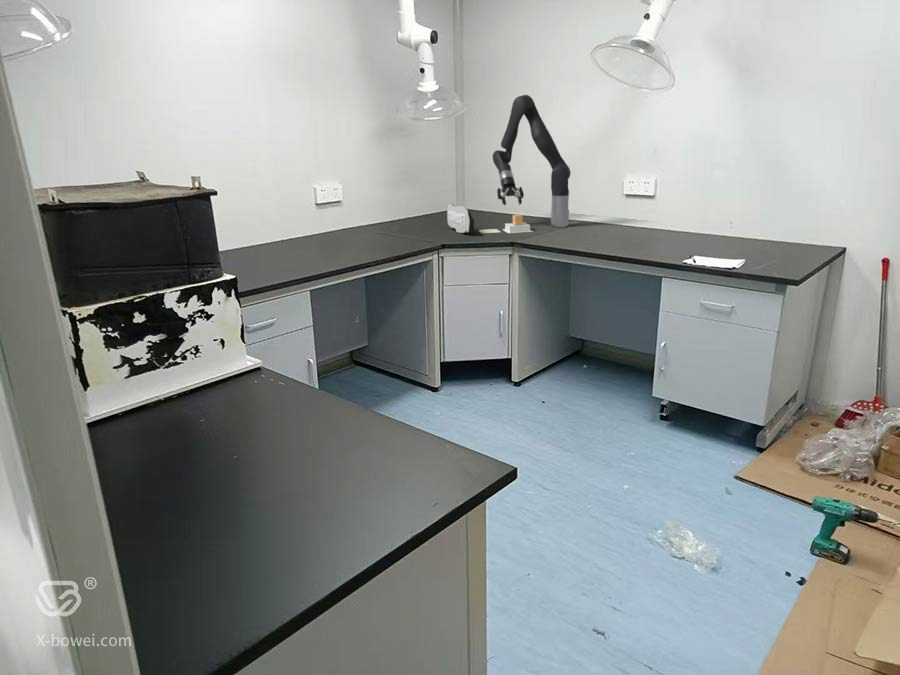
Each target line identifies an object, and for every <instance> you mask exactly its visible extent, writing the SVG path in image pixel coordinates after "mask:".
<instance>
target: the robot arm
mask: <svg viewBox="0 0 900 675" xmlns="http://www.w3.org/2000/svg"><path fill="white" fill-rule="evenodd" d="M524 116H525V118H526V120H527V122H528V124H529V128H530V133H531V134H530V135H531V139H532V140H533V143H534V144H535V146H536V148H537V149H538V151H539V153H540V154H542V156H544V157H545V159H546V160H547V161H548V163H549V166H550V168H551V170H552V171H551V177H550V179H551V180H550V182H551V183H550V186H551V187H550V190H551V206H550V207H551V212H550V213H551V214H550V226H551V227H552V226H553V227H552V228H567V227H566V226H568V227H569V221H570V220H569V219H570V217H569V216H570V215H569V214H570V209H569V198H570V197H569V195H570V190H569V178H570V176H571V170H570V166H568V164H567V163H566V161H565V160H564V159H563V157H562V156H561V154H560V152H559V149H558V147H557V146H556V143H555V141H554V139H553V137H552V136H551V133H550V131H549V130H548V128H547V126H546V125H545V123H544V121H543V119H542V118H541V116H540V114H539V111H538V109H537V106H536V104H535V102H534V99H533V98H532V97H531V96H530V95H528V94H522V95H520V96H517V97H515V99H514V100H513V102H512V105H511V111H510V114H509V118H508V123H507V126H506V130H505V131H504V135H503V137H502V139H501V141H500V142H501V143H500V147H502V149H504V150H505V151H504V150H499V149H497V150H495V151H494V152H493V154H492V161H493V164H494V165H495V167H496V169H497V170H498V175H499V182H500V186H501V188H500V187H497V190H496V194H497V199H498V200H501V202H502V205H503V206H506V205H507V200H506V197H514V198H515V199H517V202H518V205H519V206H520V205H521V204H522V202H523V201H522V199H523V198H524V196H525V193H524V190H523V188H522V186H519V188H518V187H516V186H517V185H516V182H515V178H514V174H513V171H512V167H511V164H510V163H511V161H512V155H513V148H514V145H515V142H516V140H517V137H518V132H519V126H520V122H521V120H522V118H523V117H524ZM502 193H503V195H502Z"/></svg>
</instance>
